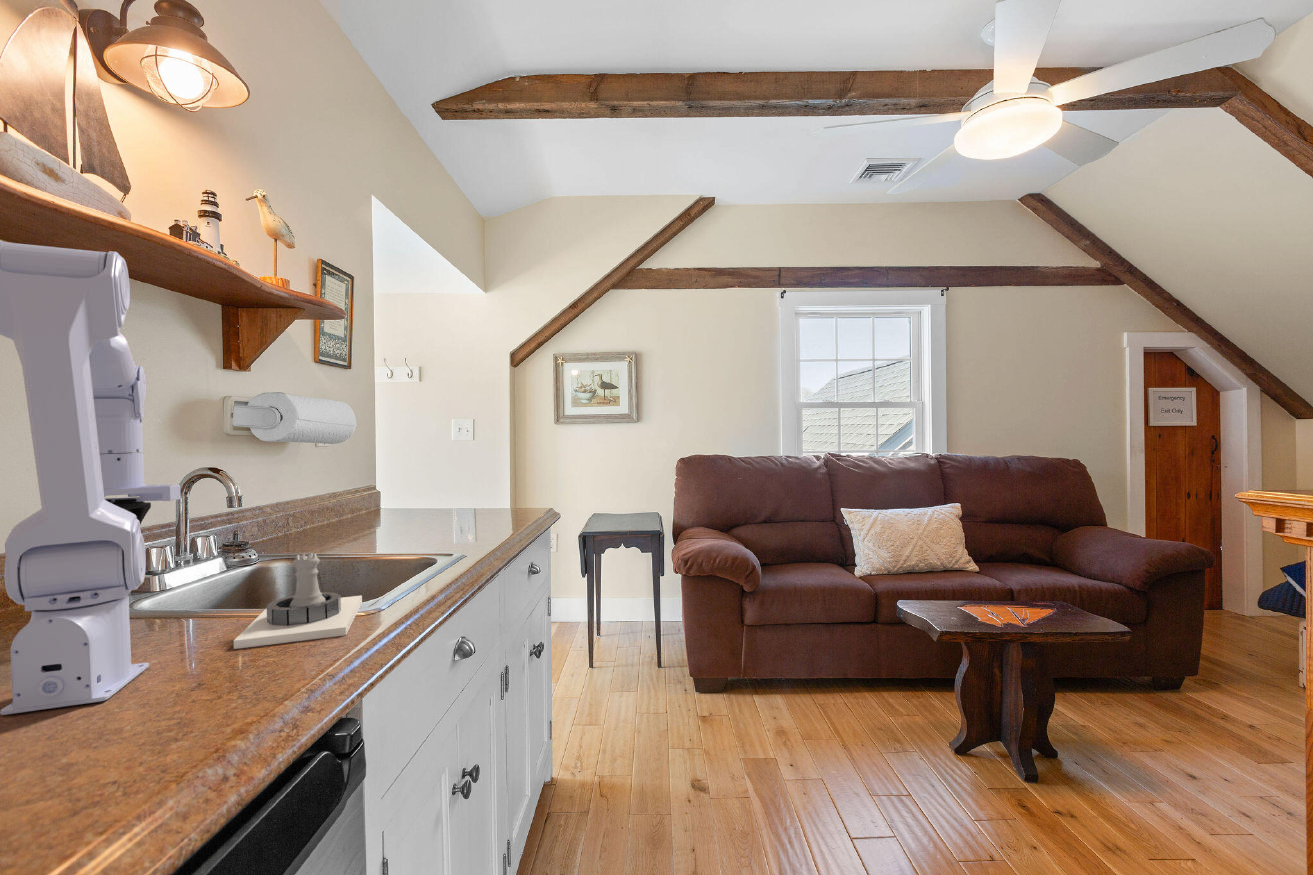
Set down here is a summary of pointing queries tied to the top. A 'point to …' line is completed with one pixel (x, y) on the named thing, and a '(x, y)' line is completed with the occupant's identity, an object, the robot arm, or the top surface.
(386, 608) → the top surface
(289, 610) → the segmented grey ring
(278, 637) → the mount plate
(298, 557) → the rook chess piece
